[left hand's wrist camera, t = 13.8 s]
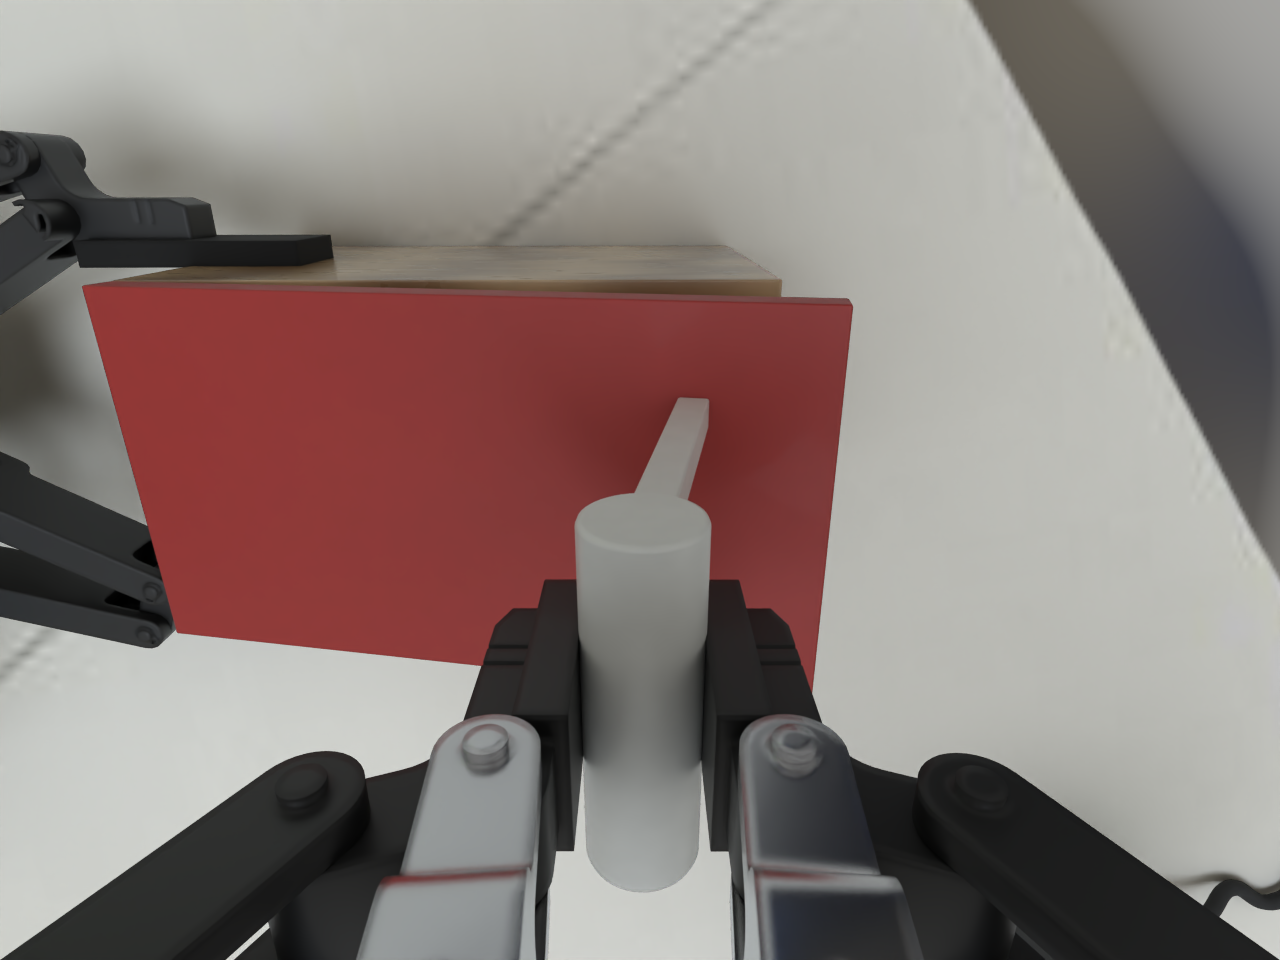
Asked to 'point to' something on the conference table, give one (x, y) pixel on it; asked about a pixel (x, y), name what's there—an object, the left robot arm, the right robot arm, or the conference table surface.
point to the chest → (510, 270)
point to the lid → (492, 489)
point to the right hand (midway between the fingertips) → (341, 412)
